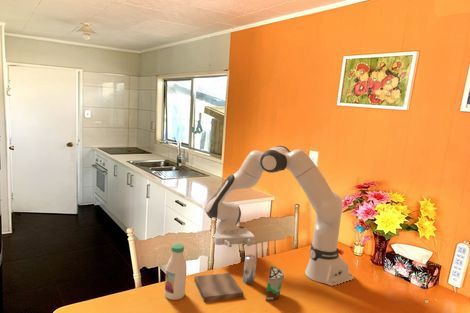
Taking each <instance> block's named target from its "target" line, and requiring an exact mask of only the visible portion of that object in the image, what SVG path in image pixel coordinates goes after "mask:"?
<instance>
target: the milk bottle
mask: <svg viewBox="0 0 470 313" xmlns="http://www.w3.org/2000/svg"><path fill="white" fill-rule="evenodd" d="M184 250H185V246H184V245H183V244H179V243H178V244H177V243H176V244H173V245H172V246H171V255H170V258H169V260H168V261H167V264H166V267H165V268H166V269H165V270H166V271H165V283H164V297H165V298H166V299H168V300H171V301H178V300H181V299H182V298H184V296H185V294H186V282H187V281H186V280H187V262H186V260H185V257H184V252H185V251H184Z"/></svg>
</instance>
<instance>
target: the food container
mask: <svg viewBox="0 0 470 313" xmlns="http://www.w3.org/2000/svg"><path fill="white" fill-rule="evenodd" d="M284 281H285V274H284V272H283V270H282V269H281V268H279V267H277V266H274V265H270V268H269V273H268V278H267V285H266V292H265V293H266V294H265V301H266V302H275V301H277V300H279V298H280V294H281V289H282V283H283V282H284Z"/></svg>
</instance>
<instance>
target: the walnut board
mask: <svg viewBox="0 0 470 313" xmlns="http://www.w3.org/2000/svg"><path fill="white" fill-rule="evenodd" d="M193 281H194V283H195V286H196V287H197V289H198V290H197V291H199V293H200V296H201V298H202V300H203V302H205V303H208V302H215V301H222V300H231V299H239V298H243V297H244V291H243V290H242V288H241V287H240V285H239V284H238V282H237V281H236V279H235V278H234V277H233V275H232V274H231V272H226V273H216V274H206V275H205V274H204V275H196V276H195V275H194V278H193Z"/></svg>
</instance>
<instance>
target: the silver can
mask: <svg viewBox="0 0 470 313" xmlns="http://www.w3.org/2000/svg"><path fill="white" fill-rule="evenodd" d="M257 259H258V258H257V256H255V255H252V254H247V255H245V256H244V264H243V274H242V282H243V283H244V284H246V285H253V284H254V283H255V280H256V279H255V277H256V268H257Z"/></svg>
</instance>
